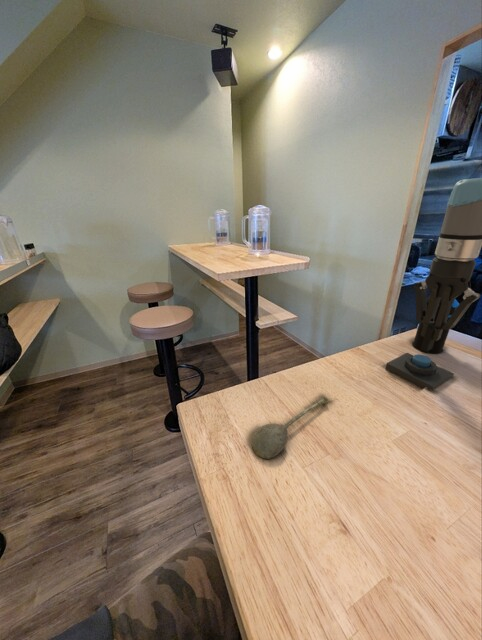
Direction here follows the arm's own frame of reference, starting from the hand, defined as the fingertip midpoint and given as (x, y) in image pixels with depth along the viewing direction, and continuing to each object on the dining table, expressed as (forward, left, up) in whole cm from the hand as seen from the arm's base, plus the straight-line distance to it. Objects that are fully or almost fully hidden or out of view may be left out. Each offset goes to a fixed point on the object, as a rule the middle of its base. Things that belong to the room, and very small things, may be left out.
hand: (426, 348), depth 65 cm
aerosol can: (+6, -17, -9) cm, 20 cm away
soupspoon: (+4, +40, -8) cm, 41 cm away
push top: (0, 0, -5) cm, 5 cm away
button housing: (0, 0, -8) cm, 8 cm away
